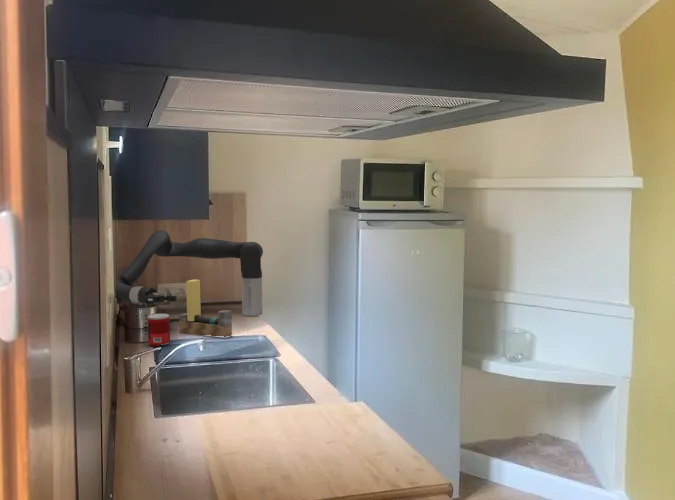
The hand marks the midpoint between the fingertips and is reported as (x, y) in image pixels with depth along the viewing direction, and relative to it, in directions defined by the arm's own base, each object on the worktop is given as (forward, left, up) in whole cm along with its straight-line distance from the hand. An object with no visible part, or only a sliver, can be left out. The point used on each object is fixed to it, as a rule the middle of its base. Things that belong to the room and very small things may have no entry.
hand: (175, 298), depth 272 cm
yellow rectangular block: (+6, +7, -8) cm, 12 cm away
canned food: (+21, -6, -14) cm, 26 cm away
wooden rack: (+9, +12, -13) cm, 20 cm away
